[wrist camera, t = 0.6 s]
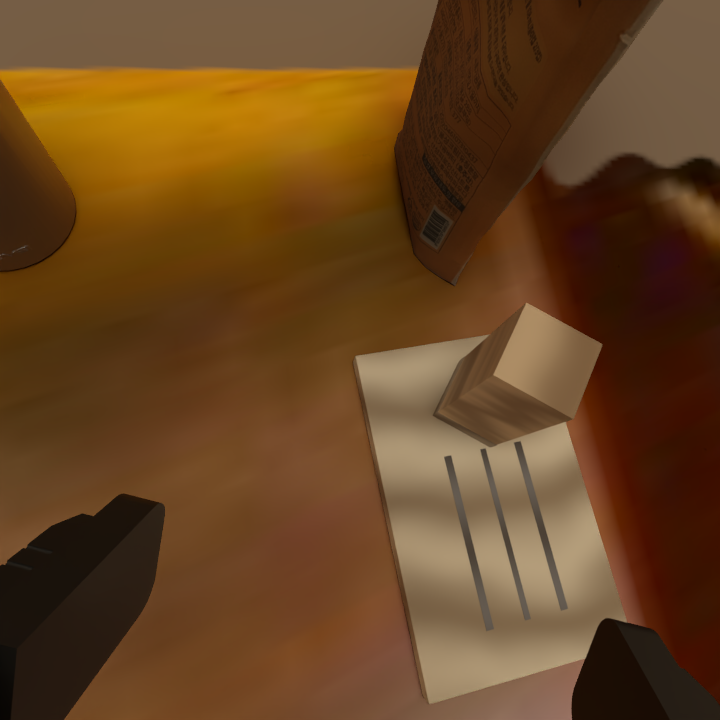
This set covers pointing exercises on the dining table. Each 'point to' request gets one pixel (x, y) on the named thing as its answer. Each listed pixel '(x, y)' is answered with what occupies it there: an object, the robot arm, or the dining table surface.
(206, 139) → the dining table surface
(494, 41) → the pancake mix bag
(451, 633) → the birch board
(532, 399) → the tan tall block
